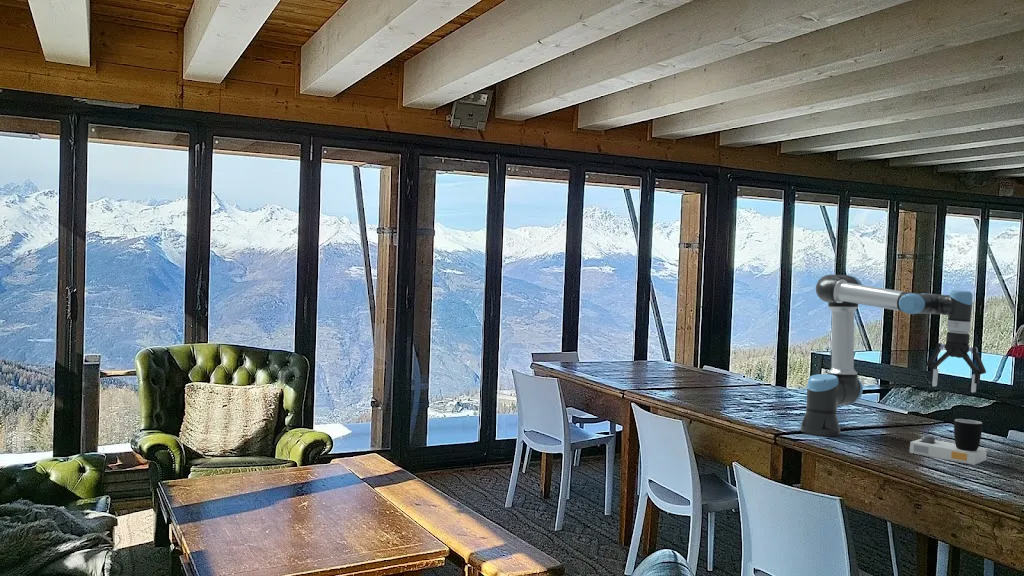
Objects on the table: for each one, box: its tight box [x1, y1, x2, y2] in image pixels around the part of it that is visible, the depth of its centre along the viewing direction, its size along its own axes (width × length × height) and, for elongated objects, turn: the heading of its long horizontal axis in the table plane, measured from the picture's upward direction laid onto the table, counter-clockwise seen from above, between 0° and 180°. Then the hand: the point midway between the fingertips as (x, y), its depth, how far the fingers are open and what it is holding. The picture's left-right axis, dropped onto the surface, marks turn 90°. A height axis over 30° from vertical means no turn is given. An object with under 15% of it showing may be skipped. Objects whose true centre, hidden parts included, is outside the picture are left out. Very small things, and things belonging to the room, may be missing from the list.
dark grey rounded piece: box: [921, 434, 936, 444], centre depth 315 cm, size 4×4×3 cm
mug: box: [953, 418, 983, 451], centre depth 306 cm, size 12×9×10 cm
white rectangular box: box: [909, 438, 988, 466], centre depth 310 cm, size 22×13×4 cm, turn 44°
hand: (953, 389), depth 314 cm, fingers open, 13 cm apart
